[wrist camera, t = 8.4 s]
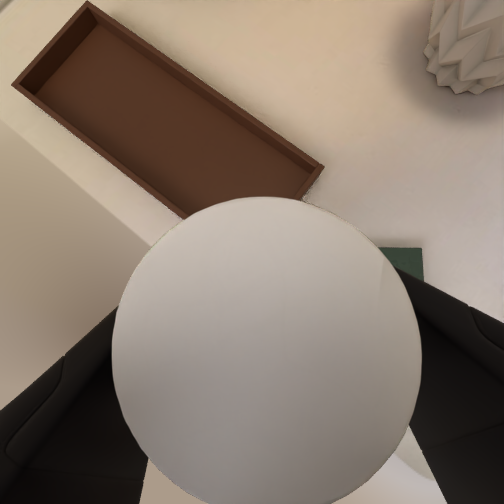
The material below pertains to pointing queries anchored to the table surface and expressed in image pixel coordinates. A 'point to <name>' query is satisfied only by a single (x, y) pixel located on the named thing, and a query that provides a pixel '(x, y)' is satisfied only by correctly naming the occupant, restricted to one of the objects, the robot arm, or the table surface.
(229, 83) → the table surface
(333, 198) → the table surface
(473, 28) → the vase
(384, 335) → the pill bottle
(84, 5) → the brown rectangular tray
